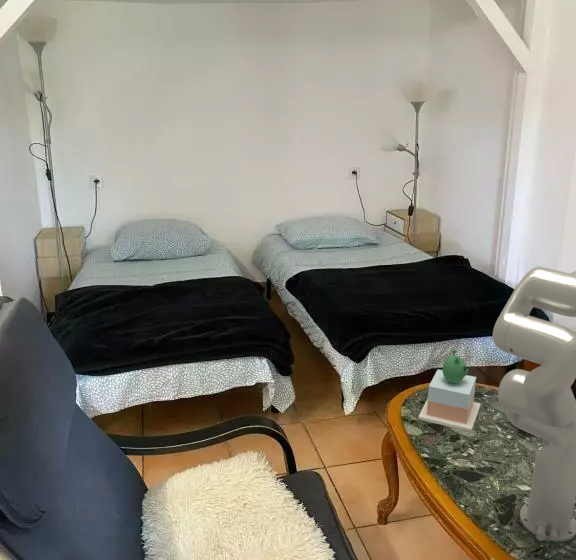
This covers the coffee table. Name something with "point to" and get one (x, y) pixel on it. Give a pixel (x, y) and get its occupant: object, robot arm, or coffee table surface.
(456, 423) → the brick tower
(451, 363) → the alien toy
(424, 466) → the coffee table surface
